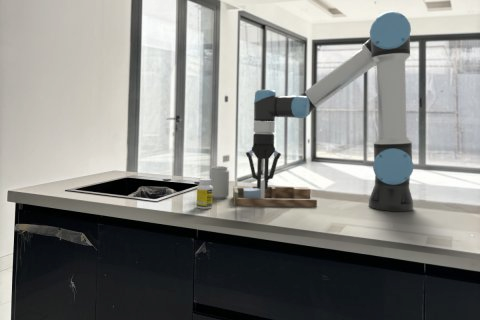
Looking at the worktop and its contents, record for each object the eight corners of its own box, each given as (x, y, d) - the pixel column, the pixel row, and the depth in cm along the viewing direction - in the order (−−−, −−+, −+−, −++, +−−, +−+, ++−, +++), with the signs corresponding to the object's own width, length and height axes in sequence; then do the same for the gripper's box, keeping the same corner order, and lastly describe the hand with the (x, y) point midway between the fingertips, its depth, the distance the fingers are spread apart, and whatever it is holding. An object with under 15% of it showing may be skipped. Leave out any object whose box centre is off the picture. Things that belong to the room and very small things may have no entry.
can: (226, 199, 158) (226, 168, 157) (206, 198, 160) (207, 167, 159) (230, 196, 166) (231, 166, 165) (212, 195, 167) (212, 165, 166)
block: (259, 201, 157) (259, 188, 157) (260, 204, 151) (260, 191, 151) (243, 201, 157) (243, 188, 156) (243, 204, 151) (244, 190, 150)
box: (307, 198, 165) (307, 187, 165) (316, 206, 149) (317, 194, 149) (233, 197, 164) (233, 185, 163) (234, 205, 148) (234, 193, 147)
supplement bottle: (208, 209, 140) (208, 180, 139) (193, 208, 142) (194, 179, 141) (214, 206, 145) (215, 178, 144) (200, 205, 147) (201, 177, 146)
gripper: (280, 133, 156) (278, 196, 158) (245, 132, 155) (243, 195, 157) (283, 134, 148) (281, 199, 151) (246, 133, 148) (244, 199, 150)
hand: (261, 197), depth 154 cm, fingers closed
